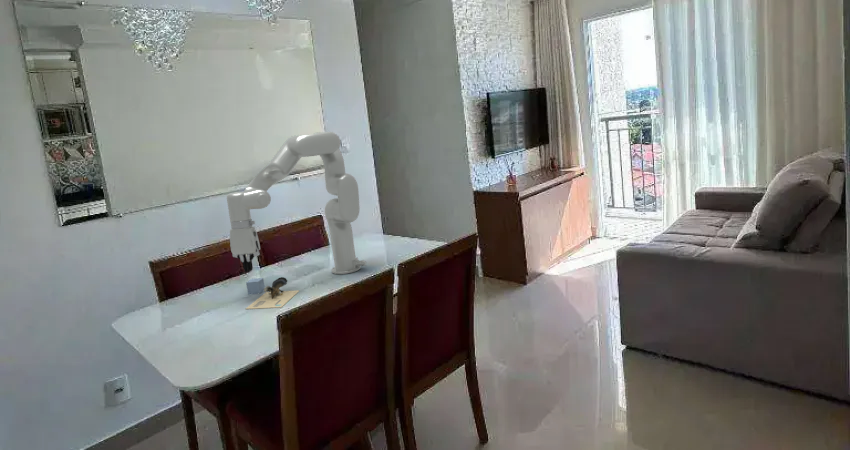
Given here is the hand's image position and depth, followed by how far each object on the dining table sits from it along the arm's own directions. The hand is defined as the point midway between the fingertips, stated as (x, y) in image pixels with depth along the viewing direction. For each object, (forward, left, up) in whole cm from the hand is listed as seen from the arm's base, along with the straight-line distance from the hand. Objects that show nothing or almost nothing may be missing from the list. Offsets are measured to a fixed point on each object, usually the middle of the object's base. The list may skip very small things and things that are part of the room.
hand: (248, 271), depth 211 cm
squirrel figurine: (-10, -1, -11) cm, 15 cm away
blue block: (+2, -7, -11) cm, 14 cm away
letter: (-10, +4, -11) cm, 15 cm away
